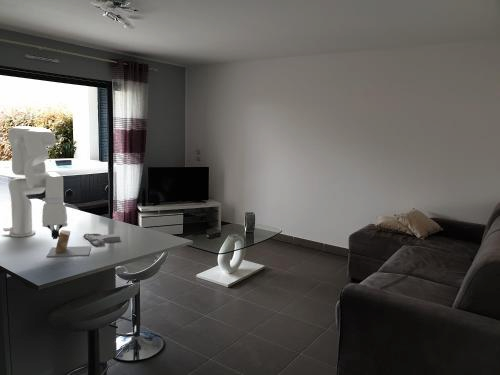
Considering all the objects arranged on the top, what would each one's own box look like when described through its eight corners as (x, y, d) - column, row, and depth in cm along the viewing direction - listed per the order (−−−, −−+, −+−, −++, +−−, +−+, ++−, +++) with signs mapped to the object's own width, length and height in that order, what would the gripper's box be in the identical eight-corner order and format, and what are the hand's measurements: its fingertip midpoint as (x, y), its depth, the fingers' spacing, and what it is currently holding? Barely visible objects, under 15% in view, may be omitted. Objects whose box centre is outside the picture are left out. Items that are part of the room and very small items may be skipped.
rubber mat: (46, 257, 177) (46, 256, 177) (52, 248, 190) (52, 247, 190) (88, 255, 183) (88, 254, 182) (91, 247, 196) (91, 246, 196)
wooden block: (55, 251, 181) (59, 233, 181) (57, 247, 188) (61, 229, 187) (64, 253, 183) (68, 235, 182) (66, 248, 189) (70, 231, 189)
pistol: (125, 237, 207) (94, 241, 197) (125, 243, 208) (94, 247, 197) (110, 229, 222) (81, 233, 211) (110, 234, 222) (81, 238, 212)
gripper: (35, 202, 175) (36, 241, 178) (70, 202, 180) (71, 240, 182) (38, 199, 183) (39, 236, 185) (73, 199, 187) (73, 236, 189)
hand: (55, 238), depth 184 cm, fingers closed
